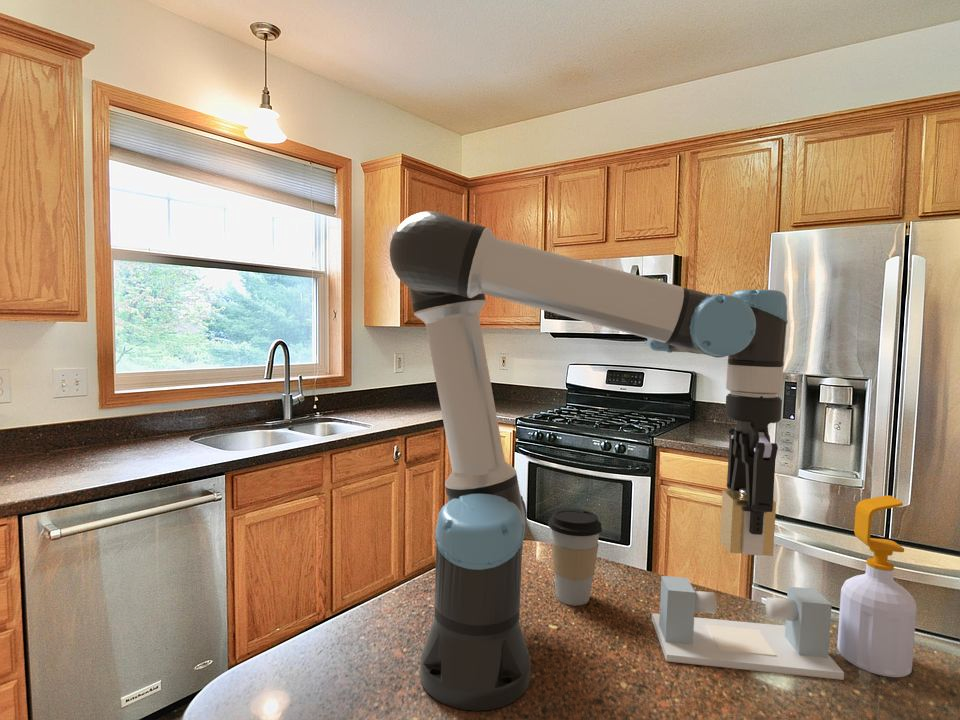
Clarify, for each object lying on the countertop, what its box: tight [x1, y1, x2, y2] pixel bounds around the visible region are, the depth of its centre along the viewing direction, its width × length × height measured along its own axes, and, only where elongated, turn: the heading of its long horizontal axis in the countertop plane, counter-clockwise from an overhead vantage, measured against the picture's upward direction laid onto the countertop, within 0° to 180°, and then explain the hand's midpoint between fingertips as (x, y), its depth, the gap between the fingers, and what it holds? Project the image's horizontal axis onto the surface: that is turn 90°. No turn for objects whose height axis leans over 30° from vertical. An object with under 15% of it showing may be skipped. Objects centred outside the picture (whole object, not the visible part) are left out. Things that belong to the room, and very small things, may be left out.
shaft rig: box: [651, 575, 845, 681], centre depth 85 cm, size 24×12×9 cm, turn 82°
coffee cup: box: [547, 507, 603, 607], centre depth 99 cm, size 9×9×15 cm
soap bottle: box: [836, 495, 918, 678], centre depth 82 cm, size 9×9×25 cm
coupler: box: [719, 488, 777, 557], centre depth 84 cm, size 5×6×9 cm
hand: (745, 546), depth 84 cm, fingers closed on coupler, 5 cm apart
